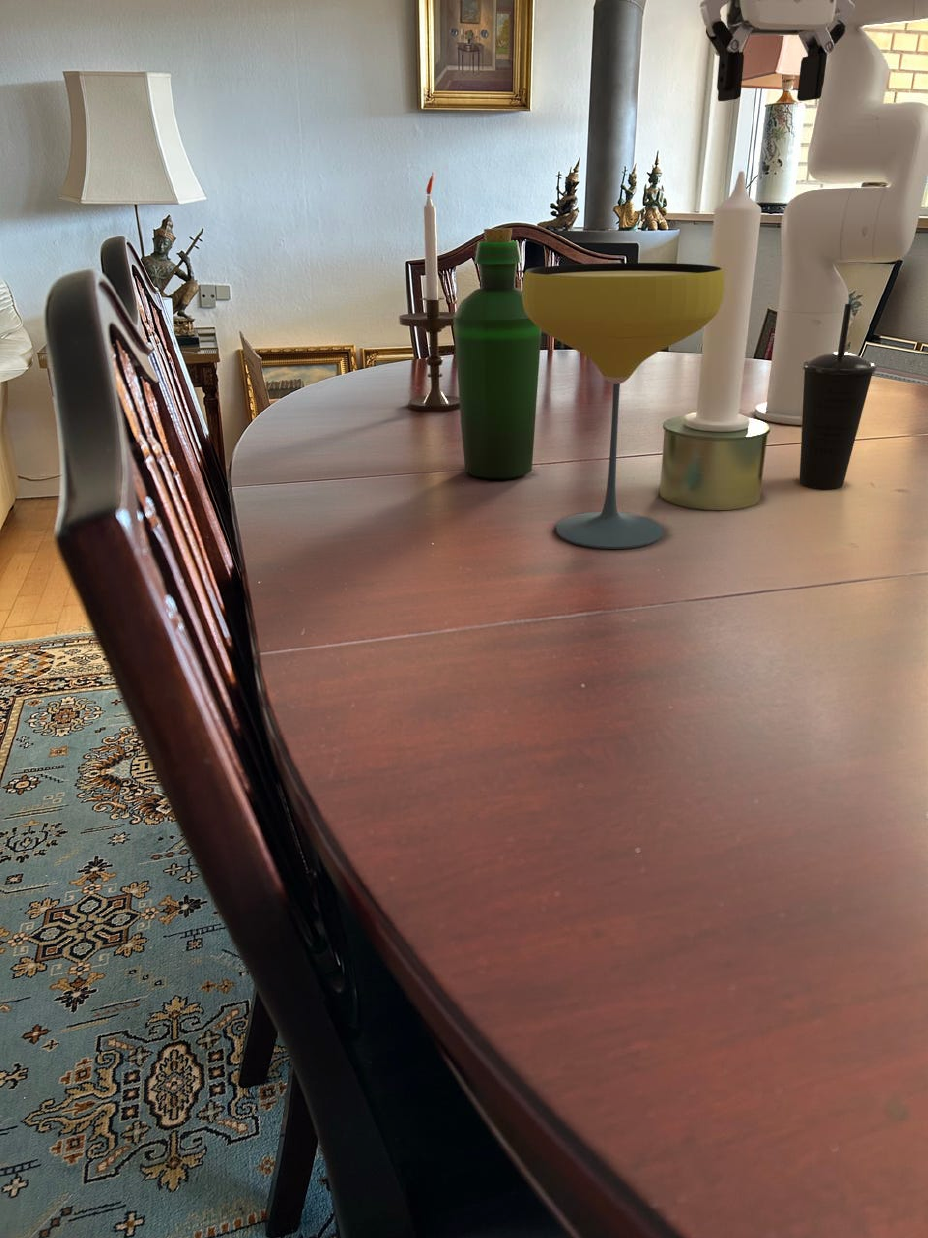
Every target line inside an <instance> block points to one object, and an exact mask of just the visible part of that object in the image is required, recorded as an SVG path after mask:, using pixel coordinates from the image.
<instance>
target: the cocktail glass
mask: <svg viewBox="0 0 928 1238" xmlns="http://www.w3.org/2000/svg"><path fill="white" fill-rule="evenodd" d="M523 273H524V274H523V276H522V284H521V290H522V302H523V307H524V311H525V313H526V315H527V316H528V317H529V319H530V320H531V321H532V322H533V323H534V324H535V325H536V326H537V327H539V328H540V330H542V331H541V332H544V333H545V334H547V336H549V337H551V338H553V339H555V340H556V341H558V342H560V343H562V344H564V345H566V346H567V347H569V348H572V349H573V350H575V351H576V352H578V353H580V354H582V355H583V356H585V357H586V358H588V359H589V360H591V362H593V363H594V364H595V366H596V367H597V369H598V371H599V372H600V374H601V375H602V376H603V378H604V379H605V380H606V381H607V382H608V383H610V384H612V402H611V424H610V439H609V441H610V443H609V455H608V456H609V458H608V471H607V473H608V474H607V483H606V485H607V486H606V493H605V499H604V503H603V504H604V505H603V508H602V511H593V512H592V511H591V512H584V513H579V514H574V515H570V516H568V517H565V518H563V519H561V520H560V521H558V523H557V524H556V526H555V527H556V528H555V531H556V533H557V534H558V537H560V538H561V539H563V541H566V542H568V543H571V544H574V545H578V546H581V547H587V548H591V549H600V550H602V549H603V550H627V549H637V548H641V547H645V546H648V545H651V544H653V543H656V542H658V541H659V540H660V539H661V538H662V537H663V534H664V529H663V526H661V524H660V523H658V522H657V521H656V520H653V519H651V518H648V517H647V516H642V515H639V514H633V513H629V512H627V513H626V512H619V511H618V506H617V498H616V497H617V496H616V495H617V494H616V493H617V492H616V477H617V476H616V475H617V450H618V449H617V447H618V426H619V425H618V424H619V405H620V390H621V389H620V388H621V384H623V383H625V382H627V381H628V380H630V378H631V376H632V375H633V374H634V373H635V371H636V370H637V369H638V368H639V367H640V365H641V364H642V363H643V362H645V361H646V360H647V359H649V358H651V357H652V356H653V355H655V354H657V353H659V352H660V351H663V350H665V349H666V348H669V347H671V346H673V345H675V344H677V343H679V342H681V341H683V340H684V339H686V338H688V337H690V336H693V334H695V333H696V332H698V331H700V330H702V329H703V328H704V326H705V325H706V324H707V323H708V322H709V321H710V320H712V319H713V318H714V317H715V315H716V314H717V313H718V311H719V309H720V307H721V304H722V300H723V294H724V273H723V270H722V268H720V267H716V266H710V264H709V265H708V264H698V263H697V264H696V263H677V262H676V263H675V262H604V263H577V264H576V263H575V264H559V265H548V266H547V265H546V266H539V267H532V268H527V269H526V270H525V272H523Z"/></svg>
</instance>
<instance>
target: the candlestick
mask: <svg viewBox="0 0 928 1238" xmlns="http://www.w3.org/2000/svg"><path fill="white" fill-rule="evenodd" d="M433 183H434V172H431V177H430V178H429V180H428V184H427V186H426V190H425V192H426V195H427V196H426V201H425V205H423V206H422V209H423V212H422V213H423V236H424V238H423V239H424V261H425V262H424V265H425V266H424V267H425V294H426V297H421V298H420V300H421V301H425V309H426V311H425V312H413V313H406V314H401V315H399V316H398V320H399V321H398V322H399V325H401V326H407V327H415V328H416V327H417V328H419V327H420V328H421V329H422V330H424V332H425V333H428V334H429V356H427V357H426V358H425V362H426V365H427V366H429V373H428V374H427V377H428V378H430V390H429V392H428V394H427V395H423V396H417V397H414V398H410V399H409V400H408V408H409V409H410V410H413V411H415V412H416V411H418V412H425V413H433V412H434V413H435V412H436V413H438V412H439V413H440V412H450V411H456V410H460V400H459V396H455V395H446V394H444V393H443V391H442V390H441V388H440V378H442V377H443V373H441V372H440V366H442V364H443V362H444V359H443V357H442V356H440V355H439V333H440V332H442V331H443V329H445V328H447V327H450V326H452V327H453V326H454V320H453V316H454V315H455V313H456V311H455V312H454V311H440V301H441V300H445V299H446V298H445V297H439V280H438V279H439V278H438V248H437V243H438V242H437V215H436V205H433V200H432V196H431V194H432V190H433Z"/></svg>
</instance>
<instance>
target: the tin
mask: <svg viewBox="0 0 928 1238" xmlns="http://www.w3.org/2000/svg"><path fill="white" fill-rule="evenodd" d="M686 415H687V414H685V415H680V416H675V417H671V418H668V419H666V420H665V421H664V422H663V424H662V429H663V431H664V434H663V447H662V457H661V459H662V461H661V472H660V484H659V495H660V497H661V498H662V499H663V500H665V501H667V502H669V503H670V504H673V505H677V506H680V507H683V508H684V507H685V508H690V509H696V510H704V511H705V510H707V511H733V510H741V509H745V508H748V507H751V506H753V505H756V504H757V503H758V502H759V501H760V499H761V491H762V490H761V489H762V483H763V475H764V467H765V461H766V460H765V459H766V450H767V442H768V435H770V433H771V425H769V424H768V423H766V422H764V421H762V420H759V419H756V418H751V417H749V418H750V426H749V427H748V428H746V429H744V430H740V431H732V432H711V431H702V430H696V429H692V428H689V427H687V426H685V425H684V417H685V416H686Z"/></svg>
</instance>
